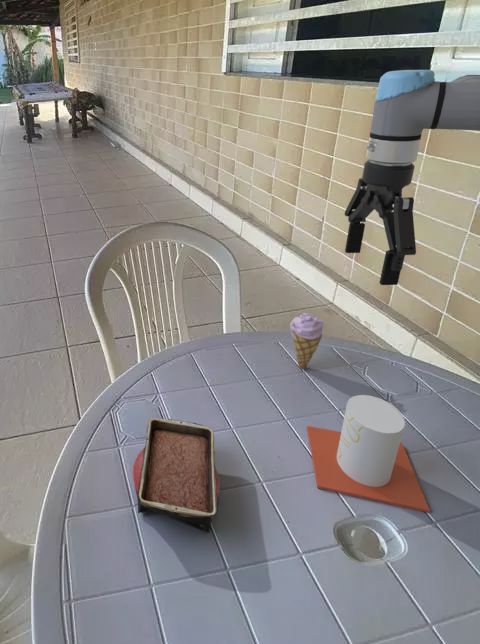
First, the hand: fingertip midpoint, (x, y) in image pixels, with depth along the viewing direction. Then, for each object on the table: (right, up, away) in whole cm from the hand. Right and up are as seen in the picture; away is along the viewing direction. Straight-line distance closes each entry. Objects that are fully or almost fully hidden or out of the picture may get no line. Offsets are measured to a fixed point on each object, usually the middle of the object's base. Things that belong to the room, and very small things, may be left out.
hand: (368, 267), depth 83 cm
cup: (-7, -34, -9) cm, 36 cm away
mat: (-7, -35, -8) cm, 36 cm away
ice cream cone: (-6, -25, +16) cm, 30 cm away
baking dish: (-40, -38, -10) cm, 56 cm away
